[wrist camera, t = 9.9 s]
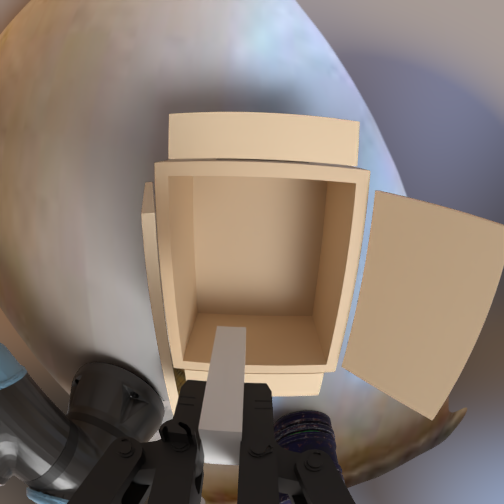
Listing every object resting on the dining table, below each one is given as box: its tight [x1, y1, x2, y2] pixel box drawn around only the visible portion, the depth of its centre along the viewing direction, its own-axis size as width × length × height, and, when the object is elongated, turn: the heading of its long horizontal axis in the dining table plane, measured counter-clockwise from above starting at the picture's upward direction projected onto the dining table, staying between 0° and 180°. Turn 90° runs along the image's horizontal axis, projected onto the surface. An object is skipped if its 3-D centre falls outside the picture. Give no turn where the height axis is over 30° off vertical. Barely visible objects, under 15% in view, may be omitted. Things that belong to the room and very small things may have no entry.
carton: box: [154, 112, 370, 396], centre depth 26 cm, size 15×25×9 cm, turn 178°
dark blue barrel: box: [274, 411, 344, 504], centre depth 34 cm, size 10×10×15 cm
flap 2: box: [342, 191, 504, 420], centre depth 18 cm, size 10×15×1 cm
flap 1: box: [141, 182, 178, 416], centre depth 17 cm, size 10×15×1 cm
